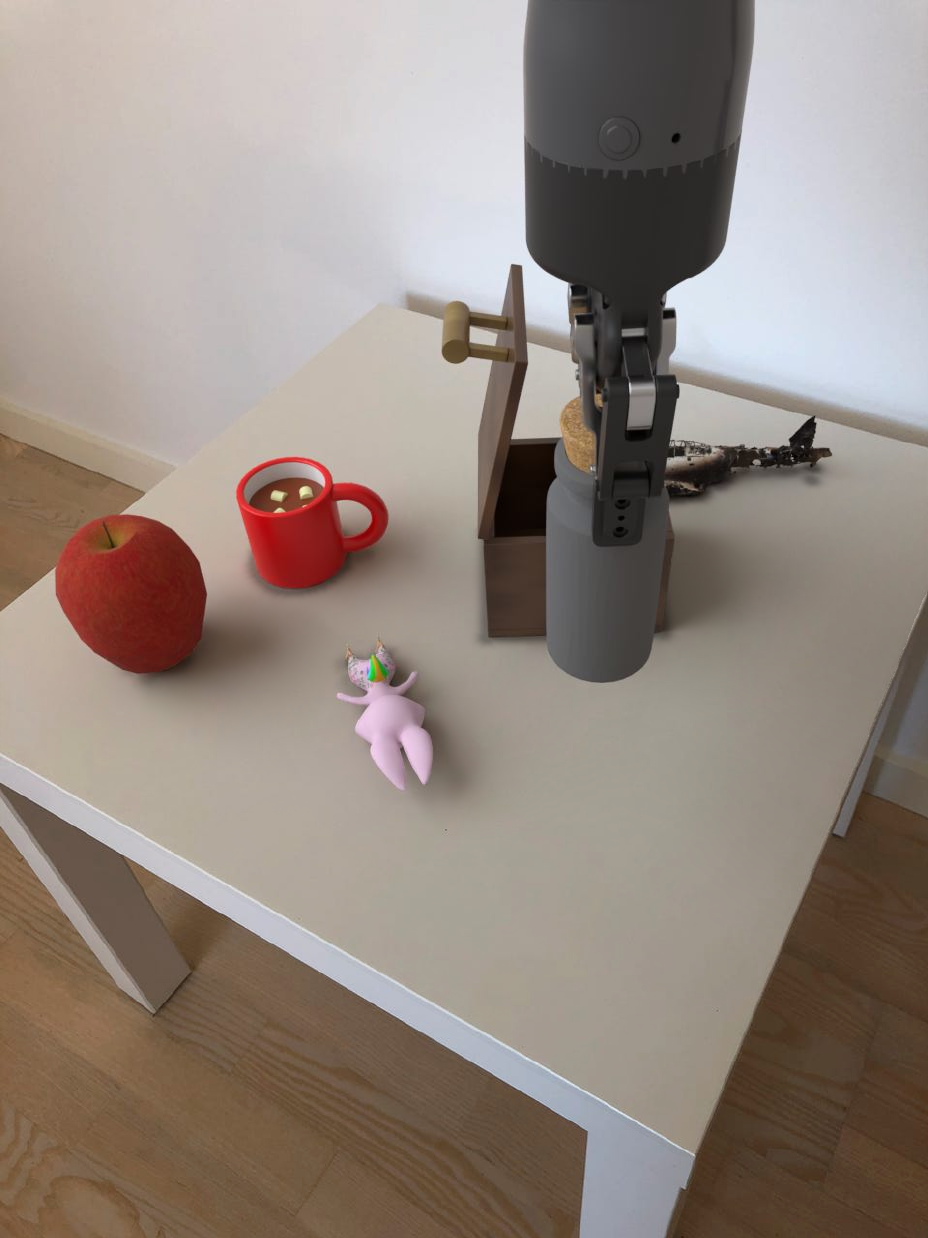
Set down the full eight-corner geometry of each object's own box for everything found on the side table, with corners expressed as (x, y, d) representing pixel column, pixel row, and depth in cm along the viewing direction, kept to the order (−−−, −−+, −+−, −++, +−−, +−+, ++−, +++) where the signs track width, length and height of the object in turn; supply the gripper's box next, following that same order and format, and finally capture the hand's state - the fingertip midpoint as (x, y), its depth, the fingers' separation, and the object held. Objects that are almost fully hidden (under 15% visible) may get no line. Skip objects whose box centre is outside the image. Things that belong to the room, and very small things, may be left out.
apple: (246, 620, 77) (203, 486, 67) (186, 714, 71) (129, 582, 61) (137, 597, 80) (79, 465, 70) (69, 686, 73) (-5, 555, 63)
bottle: (623, 594, 55) (642, 368, 44) (671, 665, 51) (705, 437, 40) (530, 623, 54) (526, 398, 43) (571, 697, 50) (578, 471, 39)
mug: (395, 578, 80) (384, 506, 74) (253, 592, 80) (231, 521, 74) (391, 518, 85) (381, 446, 80) (258, 531, 85) (239, 460, 79)
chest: (642, 526, 83) (653, 433, 76) (661, 632, 74) (675, 538, 67) (487, 531, 83) (483, 439, 76) (488, 637, 75) (483, 544, 68)
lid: (522, 264, 65) (449, 253, 65) (528, 362, 57) (444, 351, 56) (487, 435, 76) (424, 427, 75) (488, 540, 67) (417, 532, 67)
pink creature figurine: (330, 681, 74) (373, 818, 62) (315, 621, 71) (357, 755, 59) (407, 659, 75) (463, 790, 64) (395, 599, 72) (453, 727, 60)
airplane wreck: (839, 485, 85) (854, 434, 81) (634, 503, 85) (639, 453, 81) (817, 446, 89) (831, 396, 85) (622, 464, 89) (626, 414, 85)
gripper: (791, 197, 28) (715, 600, 40) (704, 45, 38) (665, 406, 50) (534, 213, 28) (537, 608, 40) (515, 58, 38) (522, 413, 50)
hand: (608, 495), depth 45 cm, fingers closed on bottle, 5 cm apart
